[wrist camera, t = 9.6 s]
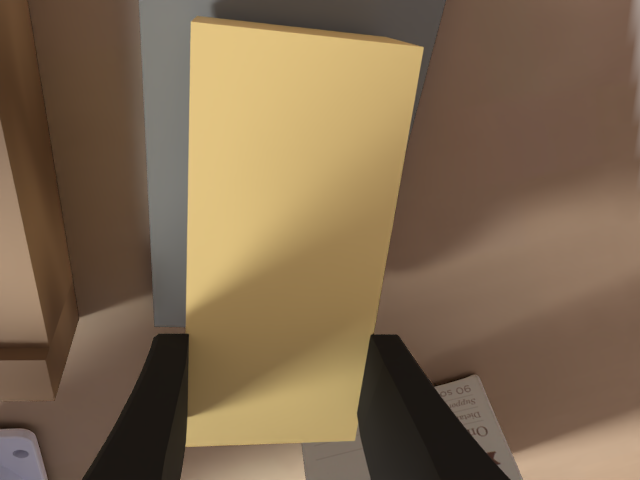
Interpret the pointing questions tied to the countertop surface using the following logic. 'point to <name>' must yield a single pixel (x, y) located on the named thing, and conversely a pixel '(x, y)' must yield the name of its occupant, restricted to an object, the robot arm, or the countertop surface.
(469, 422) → the supplement box
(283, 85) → the bar
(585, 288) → the countertop surface
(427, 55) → the mat
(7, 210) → the pocket board
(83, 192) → the countertop surface
